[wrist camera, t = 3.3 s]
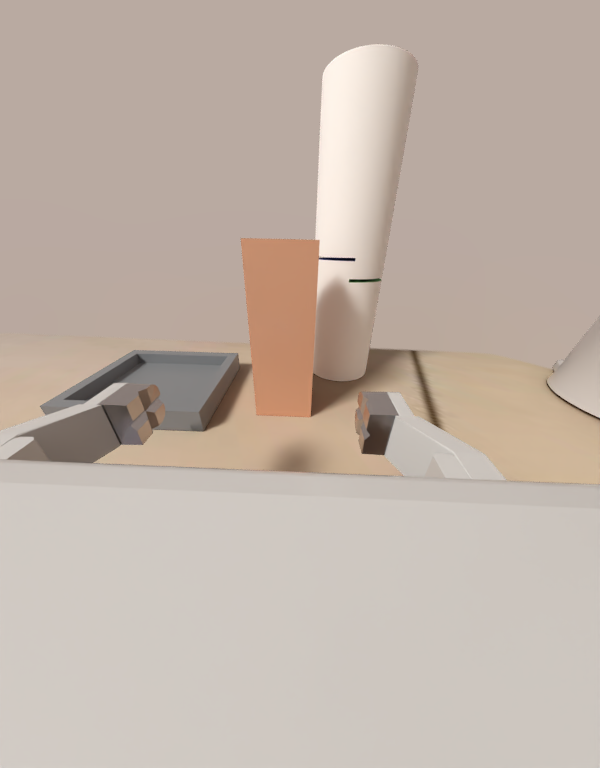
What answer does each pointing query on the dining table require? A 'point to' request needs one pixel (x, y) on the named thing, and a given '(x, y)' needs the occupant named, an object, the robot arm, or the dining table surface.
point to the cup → (281, 322)
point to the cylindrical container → (357, 197)
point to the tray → (164, 384)
